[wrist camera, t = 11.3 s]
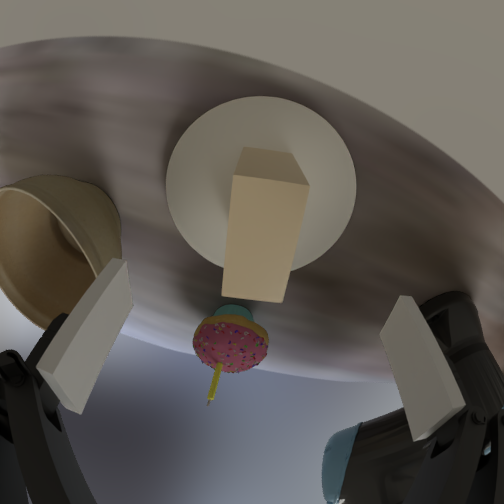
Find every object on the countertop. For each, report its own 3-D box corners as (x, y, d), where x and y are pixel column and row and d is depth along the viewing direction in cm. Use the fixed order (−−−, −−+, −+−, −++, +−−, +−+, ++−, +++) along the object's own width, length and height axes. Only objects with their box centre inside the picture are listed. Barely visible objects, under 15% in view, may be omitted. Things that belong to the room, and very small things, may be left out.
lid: (370, 118, 21) (432, 136, 12) (327, 277, 29) (348, 350, 21) (175, 89, 20) (120, 87, 11) (169, 257, 29) (137, 326, 20)
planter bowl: (42, 138, 22) (-28, 169, 13) (164, 175, 25) (110, 225, 15) (40, 252, 30) (-5, 301, 21) (138, 295, 33) (106, 362, 23)
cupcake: (227, 347, 37) (218, 424, 27) (185, 309, 33) (161, 391, 23) (281, 323, 34) (285, 407, 24) (240, 278, 31) (231, 369, 20)
